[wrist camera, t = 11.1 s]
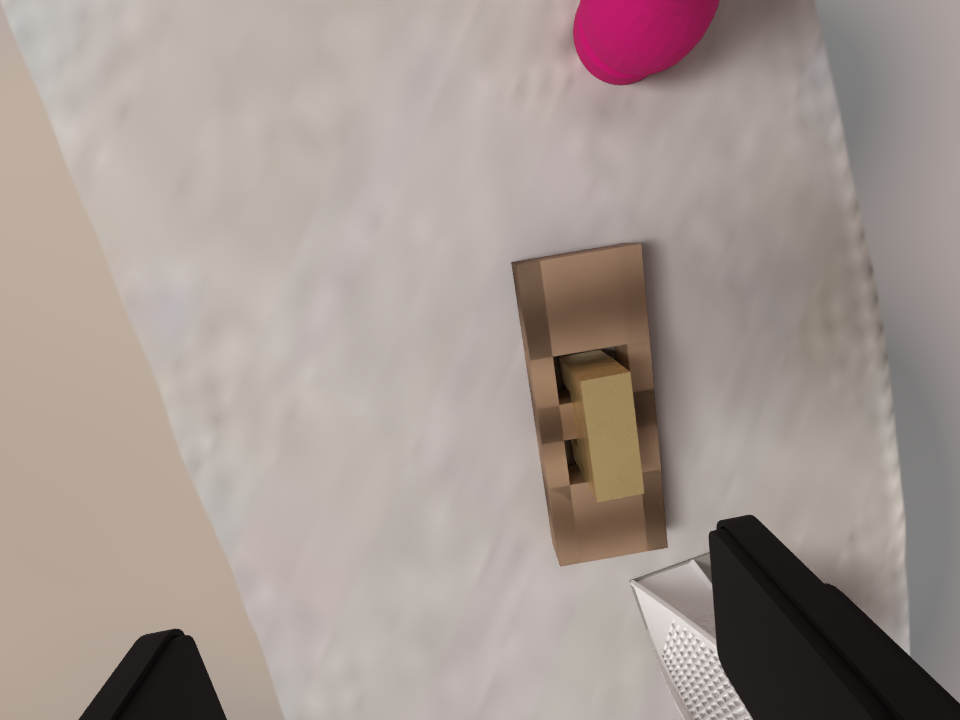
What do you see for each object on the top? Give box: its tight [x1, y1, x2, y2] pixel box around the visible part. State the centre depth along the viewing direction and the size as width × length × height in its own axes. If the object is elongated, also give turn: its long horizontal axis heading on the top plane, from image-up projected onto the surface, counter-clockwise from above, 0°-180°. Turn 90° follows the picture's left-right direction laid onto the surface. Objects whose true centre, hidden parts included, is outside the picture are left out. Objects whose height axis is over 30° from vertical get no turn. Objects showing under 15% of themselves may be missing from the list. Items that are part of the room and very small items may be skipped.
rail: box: [511, 243, 668, 566], centre depth 37 cm, size 22×8×3 cm, turn 9°
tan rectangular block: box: [559, 350, 644, 502], centre depth 35 cm, size 8×3×7 cm, turn 10°
